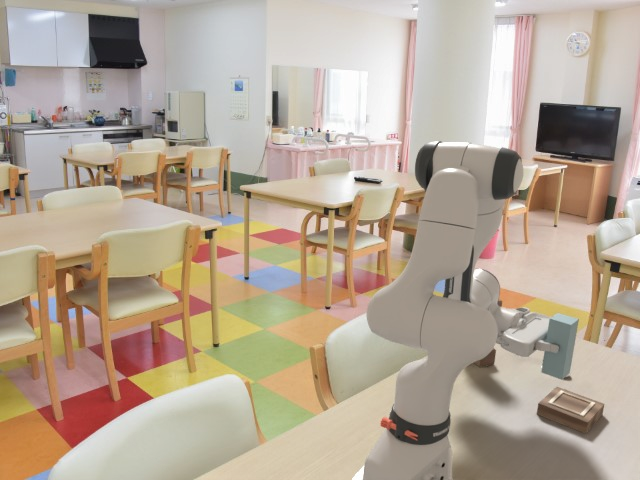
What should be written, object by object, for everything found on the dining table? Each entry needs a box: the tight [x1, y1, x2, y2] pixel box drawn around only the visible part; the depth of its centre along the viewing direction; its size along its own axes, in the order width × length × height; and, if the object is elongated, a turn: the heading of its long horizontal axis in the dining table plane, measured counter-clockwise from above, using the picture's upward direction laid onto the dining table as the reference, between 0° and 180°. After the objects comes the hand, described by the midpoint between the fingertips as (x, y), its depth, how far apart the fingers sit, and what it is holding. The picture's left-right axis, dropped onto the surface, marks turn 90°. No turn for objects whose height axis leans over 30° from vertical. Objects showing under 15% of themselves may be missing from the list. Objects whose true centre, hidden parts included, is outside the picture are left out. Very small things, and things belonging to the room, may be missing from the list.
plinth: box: [536, 386, 605, 435], centre depth 149 cm, size 12×12×3 cm
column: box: [540, 312, 580, 381], centre depth 141 cm, size 5×5×14 cm
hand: (564, 345), depth 141 cm, fingers closed on column, 5 cm apart
